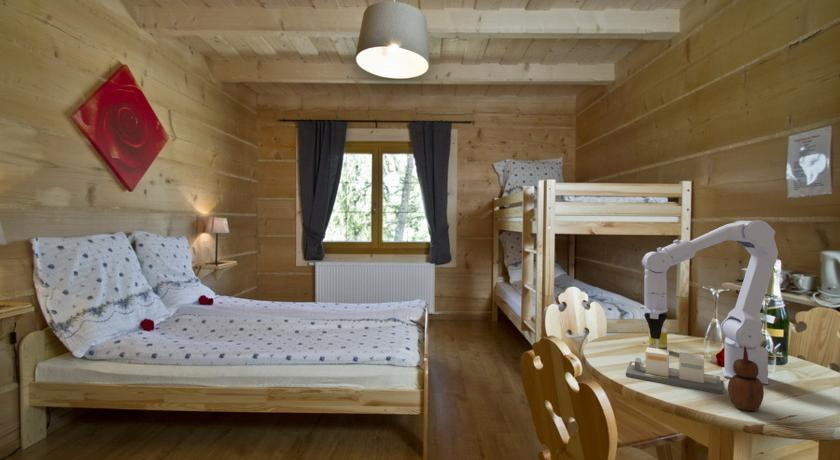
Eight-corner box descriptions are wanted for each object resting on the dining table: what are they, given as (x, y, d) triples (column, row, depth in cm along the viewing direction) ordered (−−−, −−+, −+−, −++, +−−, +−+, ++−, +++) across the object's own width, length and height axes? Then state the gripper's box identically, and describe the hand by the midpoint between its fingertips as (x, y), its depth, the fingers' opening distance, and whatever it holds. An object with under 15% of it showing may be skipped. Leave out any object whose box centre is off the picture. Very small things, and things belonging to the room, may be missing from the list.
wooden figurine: (751, 416, 90) (751, 350, 89) (723, 405, 95) (723, 343, 95) (768, 410, 92) (768, 346, 92) (740, 400, 98) (740, 339, 97)
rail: (719, 379, 110) (719, 354, 110) (722, 394, 101) (722, 366, 101) (630, 364, 123) (630, 341, 123) (625, 376, 114) (625, 351, 113)
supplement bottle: (668, 348, 138) (668, 320, 137) (666, 353, 133) (666, 323, 133) (650, 346, 141) (650, 318, 141) (647, 349, 137) (647, 321, 136)
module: (669, 370, 115) (669, 350, 114) (668, 376, 110) (668, 355, 110) (647, 367, 118) (647, 347, 118) (645, 372, 113) (645, 351, 113)
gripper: (642, 288, 126) (642, 330, 126) (637, 295, 114) (637, 342, 114) (668, 289, 122) (668, 333, 123) (666, 297, 110) (666, 346, 110)
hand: (655, 338), depth 118 cm, fingers closed
